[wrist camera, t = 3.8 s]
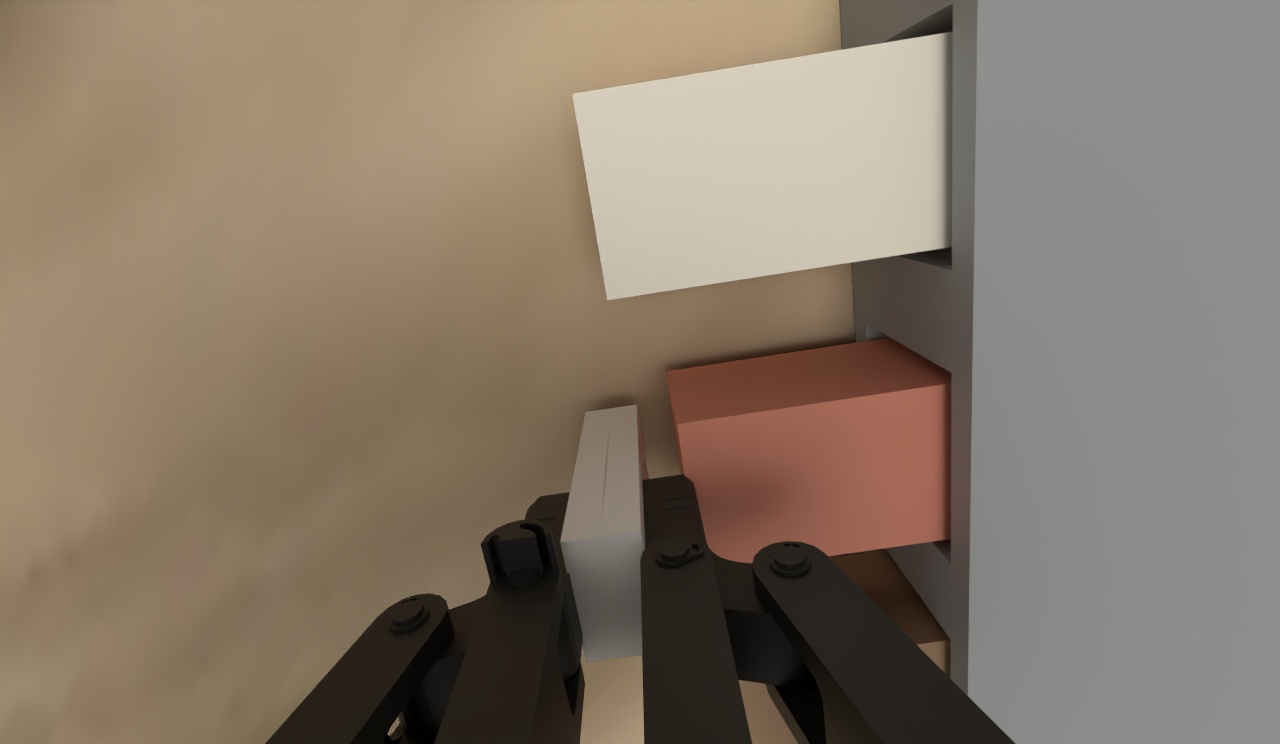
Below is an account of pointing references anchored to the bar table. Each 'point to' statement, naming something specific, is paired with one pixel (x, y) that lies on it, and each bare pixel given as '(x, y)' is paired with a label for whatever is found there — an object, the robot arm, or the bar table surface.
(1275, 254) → the socket block
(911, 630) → the walnut peg
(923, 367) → the brick peg
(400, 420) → the bar table surface
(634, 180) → the cream peg
